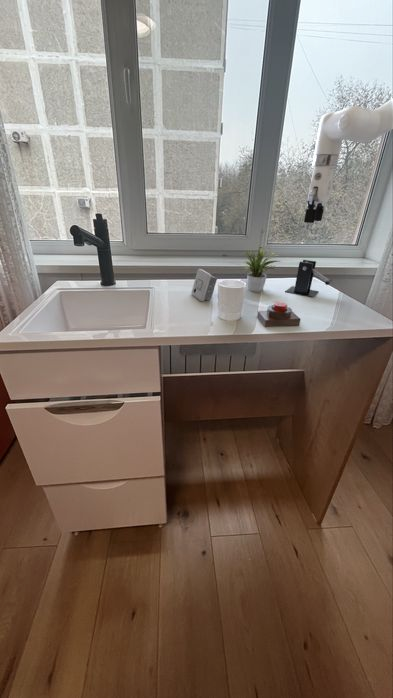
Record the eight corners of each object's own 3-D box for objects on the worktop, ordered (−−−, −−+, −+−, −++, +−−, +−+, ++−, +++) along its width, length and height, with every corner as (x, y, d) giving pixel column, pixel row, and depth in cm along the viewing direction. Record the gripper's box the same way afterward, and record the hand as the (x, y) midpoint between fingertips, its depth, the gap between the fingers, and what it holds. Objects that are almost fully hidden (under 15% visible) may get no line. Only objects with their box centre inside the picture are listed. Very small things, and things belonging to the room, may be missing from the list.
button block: (289, 316, 86) (291, 304, 84) (299, 326, 80) (302, 312, 78) (257, 317, 85) (258, 304, 83) (264, 327, 79) (266, 313, 77)
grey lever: (329, 283, 101) (334, 278, 99) (326, 287, 97) (330, 281, 95) (303, 266, 103) (307, 260, 102) (299, 268, 99) (303, 262, 98)
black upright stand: (318, 294, 106) (325, 261, 100) (312, 300, 100) (320, 265, 94) (291, 289, 110) (297, 257, 105) (284, 294, 105) (290, 261, 99)
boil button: (283, 307, 82) (284, 301, 81) (288, 312, 79) (289, 306, 78) (271, 307, 82) (272, 302, 81) (275, 312, 79) (276, 306, 78)
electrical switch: (190, 294, 103) (193, 268, 98) (203, 294, 105) (207, 268, 100) (201, 302, 95) (204, 274, 91) (214, 302, 97) (218, 275, 93)
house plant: (252, 301, 97) (258, 251, 89) (226, 290, 107) (230, 244, 99) (281, 294, 104) (289, 248, 96) (254, 285, 114) (260, 242, 106)
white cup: (210, 316, 85) (212, 283, 80) (226, 309, 90) (229, 278, 85) (232, 324, 80) (235, 289, 75) (247, 316, 85) (251, 283, 80)
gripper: (331, 160, 83) (317, 224, 91) (342, 164, 95) (329, 220, 103) (304, 160, 86) (294, 222, 95) (319, 165, 99) (308, 219, 107)
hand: (312, 221), depth 99 cm, fingers open, 9 cm apart
